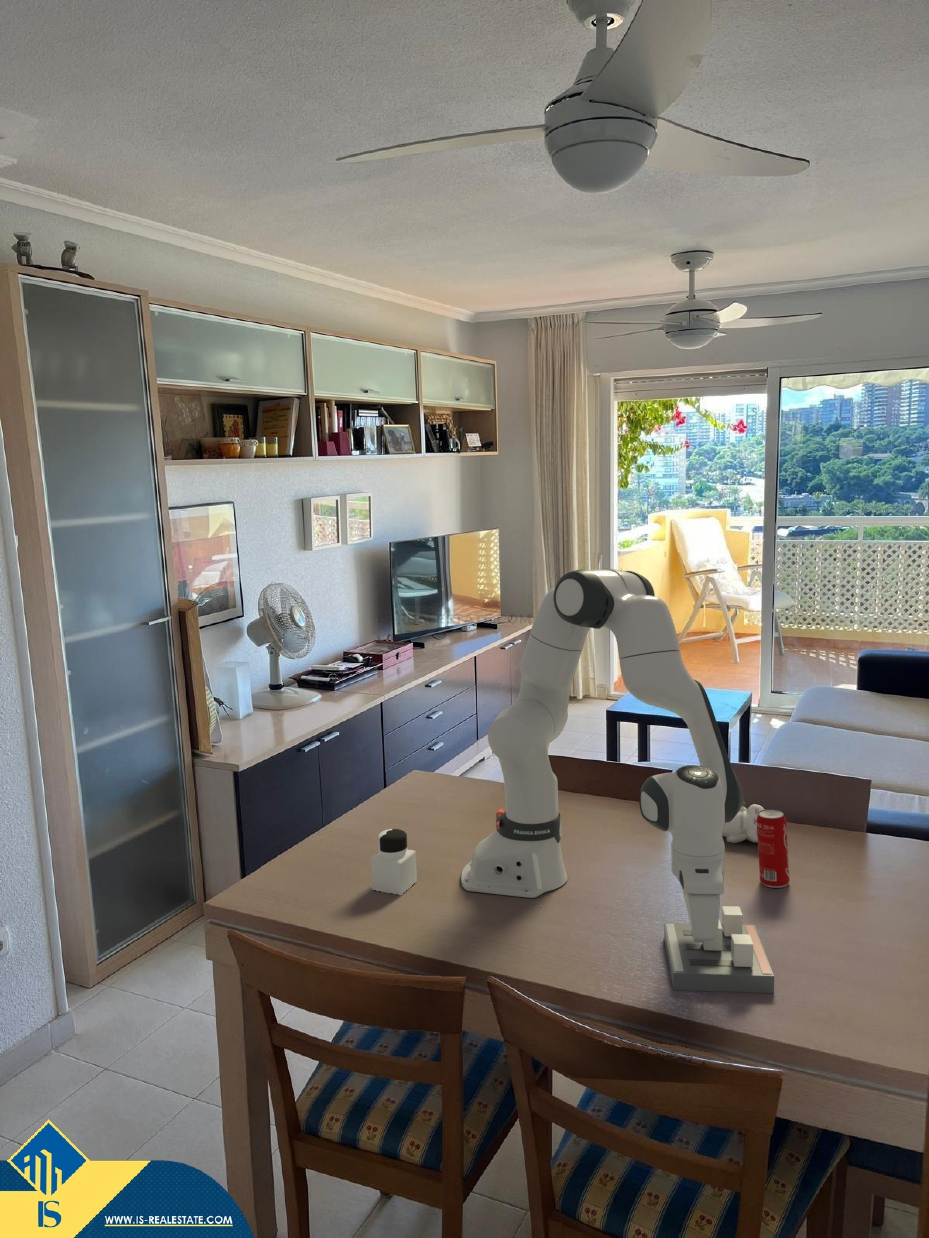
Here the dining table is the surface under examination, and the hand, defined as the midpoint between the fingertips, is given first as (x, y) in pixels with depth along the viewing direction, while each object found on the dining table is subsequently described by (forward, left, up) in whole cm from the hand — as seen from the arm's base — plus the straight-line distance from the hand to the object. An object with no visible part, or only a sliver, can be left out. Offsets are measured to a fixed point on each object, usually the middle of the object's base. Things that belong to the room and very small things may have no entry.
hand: (697, 938), depth 157 cm
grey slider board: (+3, 0, -5) cm, 6 cm away
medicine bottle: (-59, +28, -5) cm, 65 cm away
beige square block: (+2, 0, -1) cm, 3 cm away
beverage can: (+19, +33, -5) cm, 38 cm away
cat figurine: (+18, +55, -5) cm, 58 cm away
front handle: (+6, -5, -1) cm, 8 cm away
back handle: (+7, +5, -1) cm, 8 cm away
